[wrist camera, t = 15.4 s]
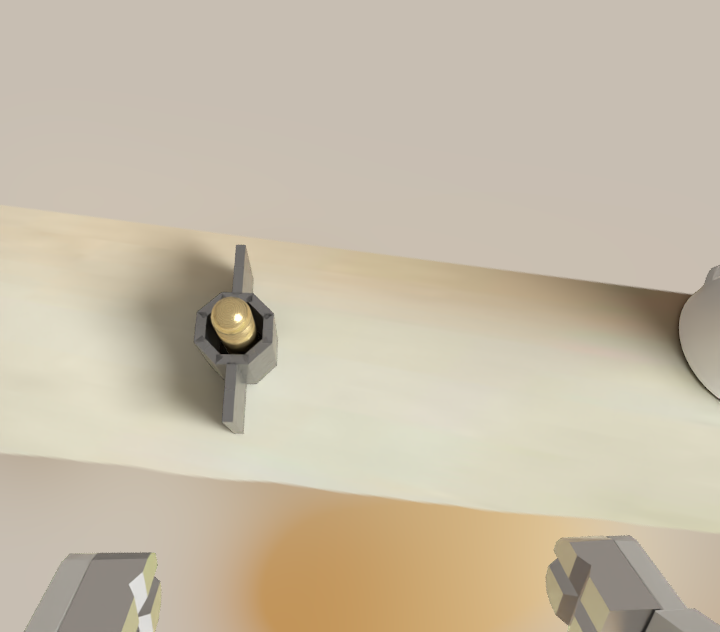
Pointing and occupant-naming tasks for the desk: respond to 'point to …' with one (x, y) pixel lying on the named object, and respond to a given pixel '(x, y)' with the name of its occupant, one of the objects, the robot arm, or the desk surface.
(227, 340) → the brass pin
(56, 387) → the desk surface
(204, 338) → the octagonal sleeve with tab
